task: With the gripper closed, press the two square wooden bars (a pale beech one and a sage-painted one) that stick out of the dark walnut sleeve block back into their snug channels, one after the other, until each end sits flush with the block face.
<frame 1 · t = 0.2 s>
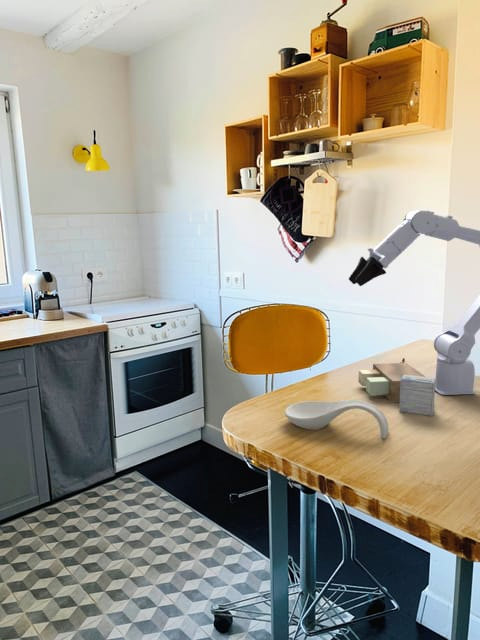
hand: (354, 282, 131), 31 cm above the table, tool tilted 45°, fingers open, 7 cm apart
medicine box: (416, 412, 124), on the table
sage bar: (384, 385, 134), point 3 cm above the table, slide at 5.0 cm
beech bar: (376, 377, 141), point 3 cm above the table, slide at 5.0 cm
walnut sleeve block: (399, 391, 138), on the table
figurine: (400, 376, 153), on the table
spoon rest: (334, 429, 115), on the table
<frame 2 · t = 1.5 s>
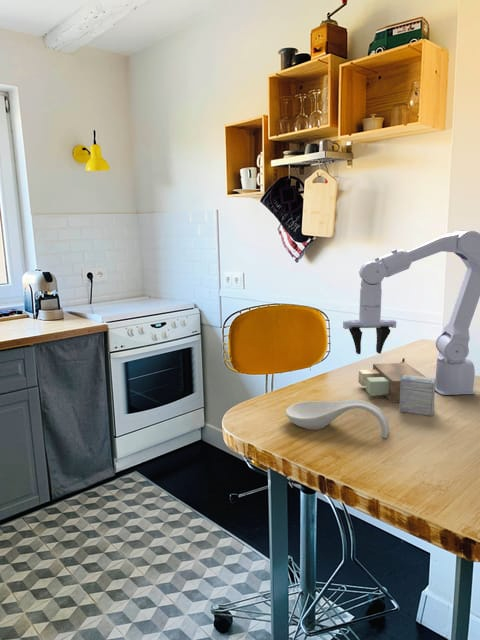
hand: (368, 353, 139), 10 cm above the table, tool pointing down, fingers open, 5 cm apart
nothing on the table moved.
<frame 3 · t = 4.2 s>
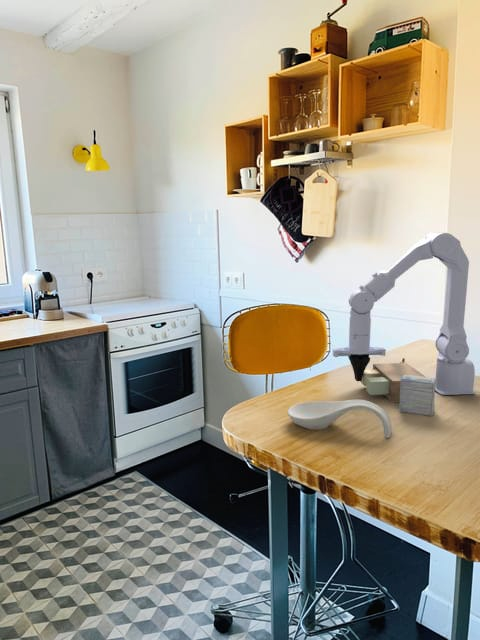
hand: (358, 380, 141), 2 cm above the table, tool pointing down, fingers closed
beech bar: (378, 377, 141), point 3 cm above the table, slide at 4.4 cm, touching gripper
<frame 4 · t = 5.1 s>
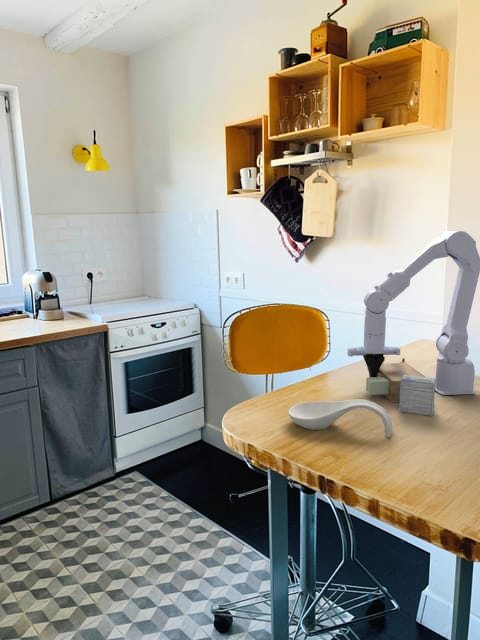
hand: (372, 379, 141), 3 cm above the table, tool pointing down, fingers closed
beech bar: (392, 377, 141), point 3 cm above the table, slide at 0.3 cm, touching gripper
everything else where it was.
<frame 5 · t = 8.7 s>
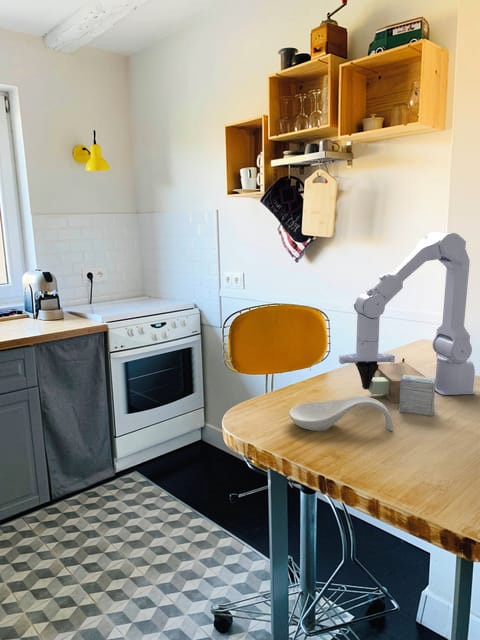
hand: (365, 388, 134), 2 cm above the table, tool pointing down, fingers closed
sage bar: (386, 385, 134), point 3 cm above the table, slide at 4.4 cm, touching gripper
beech bar: (392, 377, 141), point 3 cm above the table, slide at 0.2 cm
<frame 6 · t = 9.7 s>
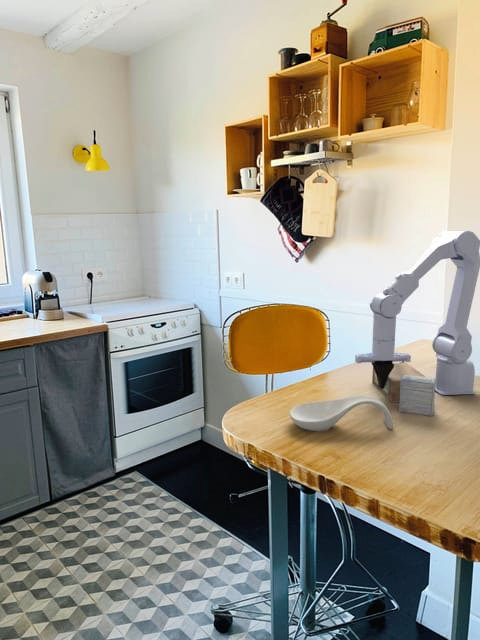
hand: (381, 387, 134), 3 cm above the table, tool pointing down, fingers closed
sage bar: (401, 384, 134), point 3 cm above the table, slide at 0.2 cm, touching gripper
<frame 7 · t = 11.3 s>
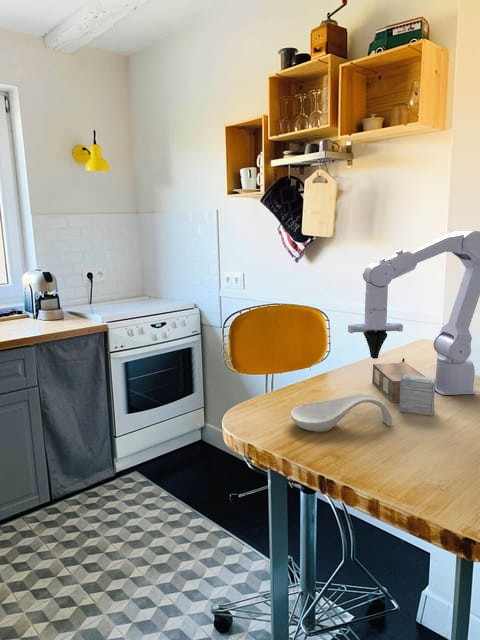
hand: (374, 357, 135), 10 cm above the table, tool pointing down, fingers closed
sage bar: (401, 384, 134), point 3 cm above the table, slide at 0.2 cm
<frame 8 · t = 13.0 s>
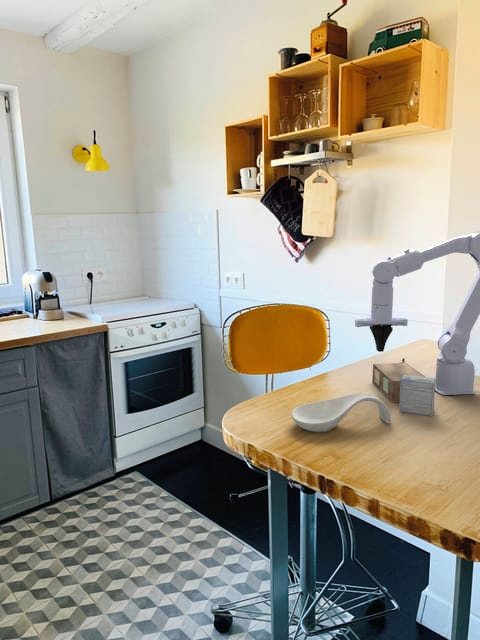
hand: (379, 350, 141), 10 cm above the table, tool pointing down, fingers closed
at the end: beech bar slide at 0.2 cm; sage bar slide at 0.2 cm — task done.
